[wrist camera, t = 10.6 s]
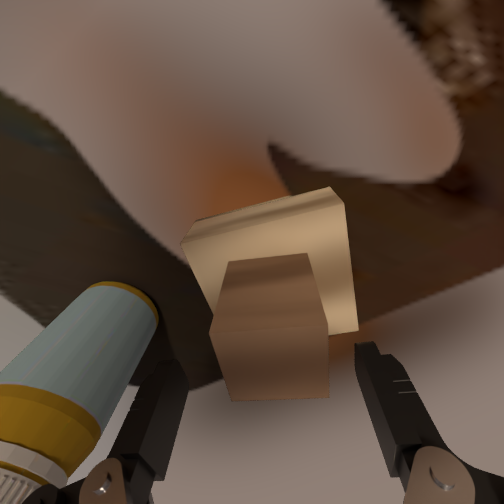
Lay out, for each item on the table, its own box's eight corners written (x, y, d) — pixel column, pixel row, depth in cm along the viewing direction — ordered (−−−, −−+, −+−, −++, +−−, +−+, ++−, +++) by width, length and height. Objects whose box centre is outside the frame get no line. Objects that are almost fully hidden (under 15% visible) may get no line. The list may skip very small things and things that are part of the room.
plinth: (195, 220, 19) (179, 243, 15) (328, 185, 17) (343, 203, 14) (235, 315, 23) (230, 350, 20) (343, 295, 22) (358, 330, 18)
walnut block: (228, 261, 16) (208, 333, 11) (307, 252, 15) (328, 324, 10) (241, 318, 18) (231, 401, 13) (310, 313, 18) (329, 397, 12)
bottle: (99, 333, 25) (-84, 573, 12) (75, 276, 22) (-220, 524, 9) (167, 335, 25) (54, 585, 12) (152, 277, 21) (-30, 539, 8)
